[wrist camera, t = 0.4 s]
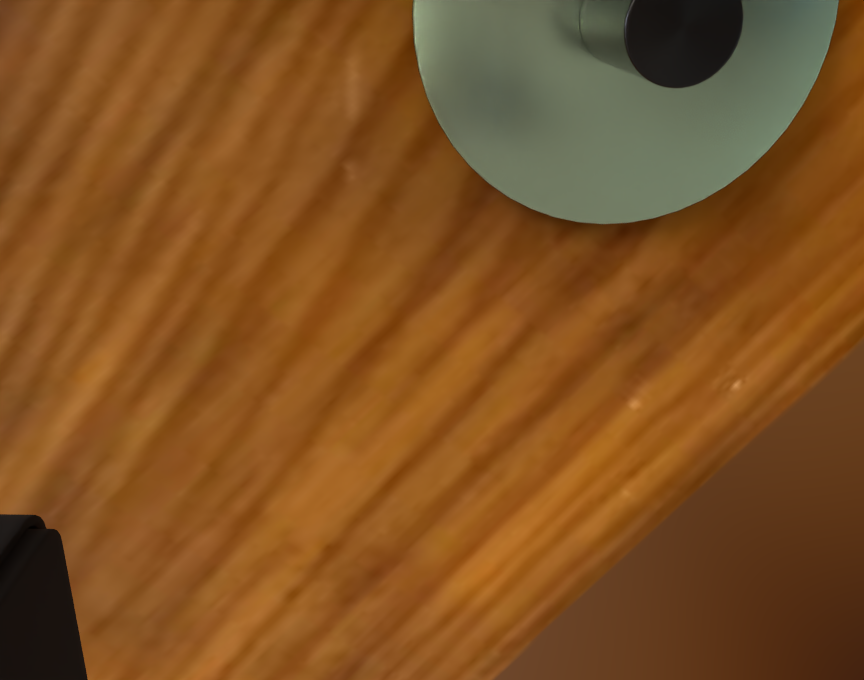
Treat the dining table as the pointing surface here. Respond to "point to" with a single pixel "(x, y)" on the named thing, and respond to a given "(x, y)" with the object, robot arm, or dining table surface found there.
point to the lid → (617, 94)
